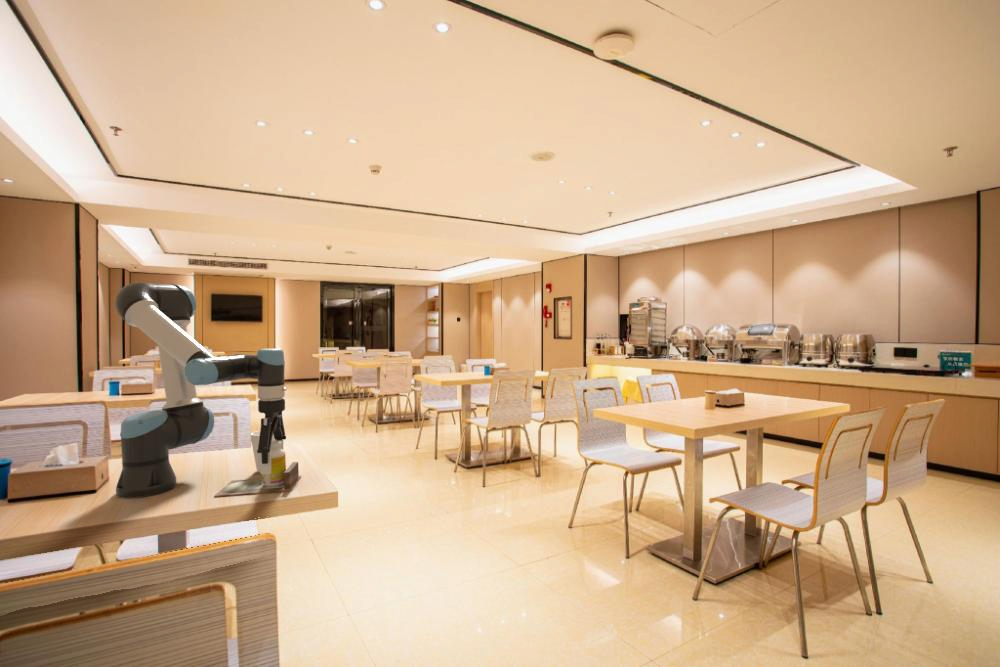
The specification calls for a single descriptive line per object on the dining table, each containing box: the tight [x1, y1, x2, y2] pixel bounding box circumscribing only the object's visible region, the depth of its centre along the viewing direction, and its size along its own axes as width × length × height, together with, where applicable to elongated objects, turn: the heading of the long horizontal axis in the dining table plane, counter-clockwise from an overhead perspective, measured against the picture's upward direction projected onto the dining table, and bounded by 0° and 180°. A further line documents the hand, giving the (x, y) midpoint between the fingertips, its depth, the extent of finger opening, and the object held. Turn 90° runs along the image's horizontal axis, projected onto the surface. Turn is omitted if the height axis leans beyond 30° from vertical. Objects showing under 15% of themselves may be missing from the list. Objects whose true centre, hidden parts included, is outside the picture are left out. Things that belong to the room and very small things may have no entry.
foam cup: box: [250, 430, 275, 474], centre depth 169 cm, size 10×9×13 cm
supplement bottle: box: [262, 441, 287, 487], centre depth 153 cm, size 7×7×13 cm
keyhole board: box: [213, 461, 302, 498], centre depth 152 cm, size 21×14×5 cm, turn 99°
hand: (272, 466), depth 153 cm, fingers open, 13 cm apart
